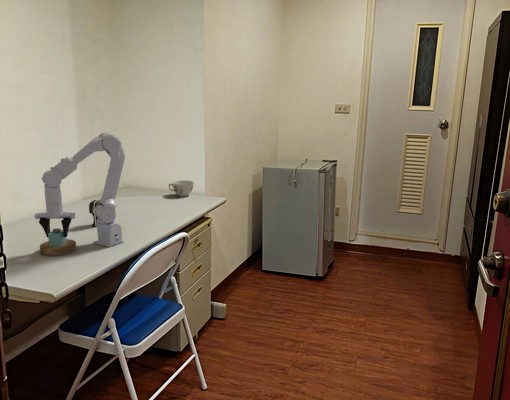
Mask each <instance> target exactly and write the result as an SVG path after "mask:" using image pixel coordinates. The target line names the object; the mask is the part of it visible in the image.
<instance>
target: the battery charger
mask: <svg viewBox="0 0 510 400" xmlns="http://www.w3.org/2000/svg"><path fill="white" fill-rule="evenodd" d="M99 200H100V199H94V200H91V202H89V204H88V213H89V214H91V216H92V217H93V222H92V224H91V226H92V227H96V228H97V219H98V217H97V216H96V214H95V207H96V206H97V205H98V203H99Z"/></svg>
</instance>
